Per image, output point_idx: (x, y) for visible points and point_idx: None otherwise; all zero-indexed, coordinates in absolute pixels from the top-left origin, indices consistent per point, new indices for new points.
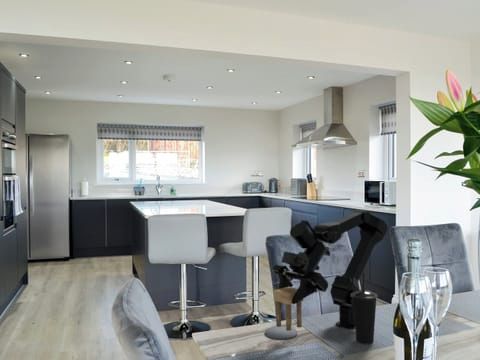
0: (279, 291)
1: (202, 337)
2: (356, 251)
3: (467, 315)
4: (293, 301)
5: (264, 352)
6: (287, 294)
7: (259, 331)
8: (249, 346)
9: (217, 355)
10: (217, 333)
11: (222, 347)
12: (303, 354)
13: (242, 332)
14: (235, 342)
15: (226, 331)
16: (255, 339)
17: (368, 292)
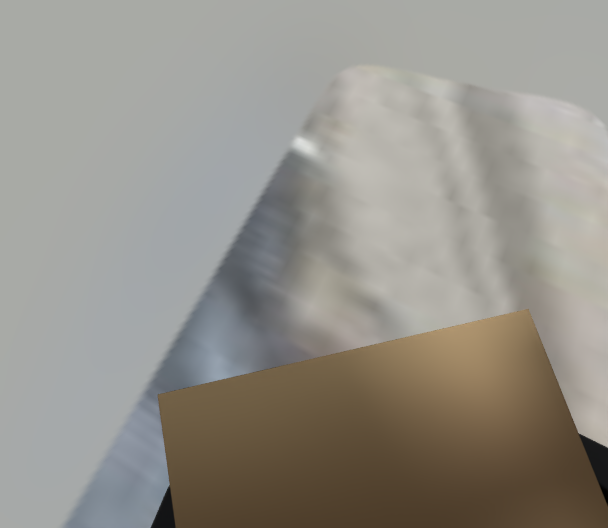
0: (399, 348)
1: (545, 115)
2: None
3: None
4: (164, 508)
5: (256, 278)
6: (168, 393)
7: None
8: (362, 248)
9: (324, 89)
10: (579, 188)
11: (400, 139)
12: (114, 470)
13: (563, 303)
14: (438, 212)
15: (596, 236)
16: (442, 319)
17: None
